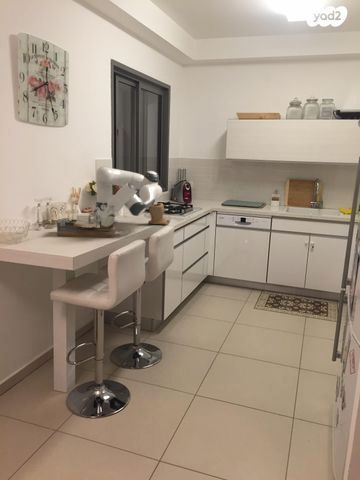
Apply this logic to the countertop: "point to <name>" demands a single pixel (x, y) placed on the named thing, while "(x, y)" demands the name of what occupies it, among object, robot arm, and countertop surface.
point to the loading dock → (82, 230)
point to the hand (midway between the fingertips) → (97, 221)
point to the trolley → (86, 220)
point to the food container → (107, 221)
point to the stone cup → (157, 214)
